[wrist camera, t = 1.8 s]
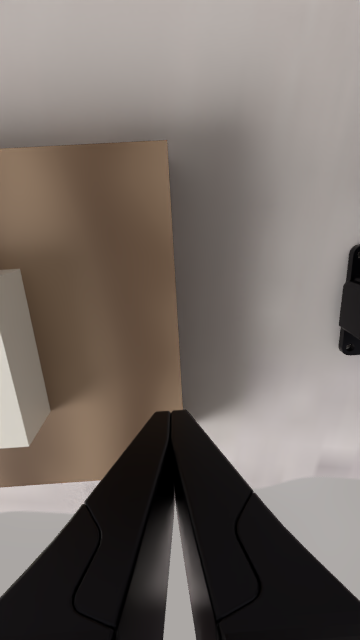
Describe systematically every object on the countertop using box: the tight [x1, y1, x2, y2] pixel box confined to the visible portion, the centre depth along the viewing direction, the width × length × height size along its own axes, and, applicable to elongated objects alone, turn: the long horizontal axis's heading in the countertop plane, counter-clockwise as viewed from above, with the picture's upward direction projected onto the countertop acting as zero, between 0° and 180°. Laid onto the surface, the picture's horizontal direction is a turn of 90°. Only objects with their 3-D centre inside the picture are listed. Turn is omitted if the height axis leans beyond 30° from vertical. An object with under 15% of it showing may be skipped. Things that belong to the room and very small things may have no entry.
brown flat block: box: [0, 140, 183, 487], centre depth 16 cm, size 17×16×4 cm
